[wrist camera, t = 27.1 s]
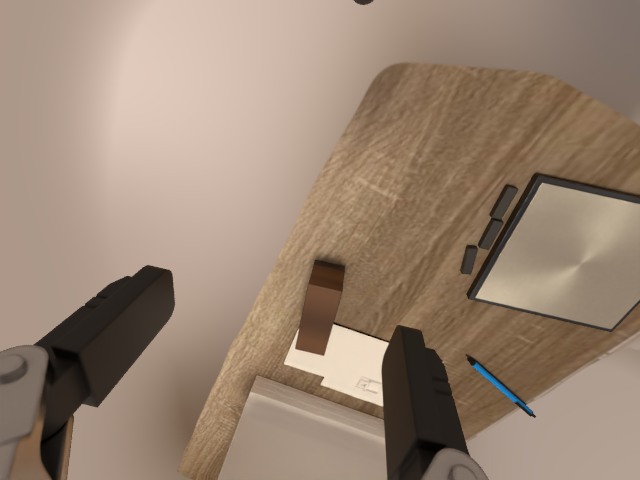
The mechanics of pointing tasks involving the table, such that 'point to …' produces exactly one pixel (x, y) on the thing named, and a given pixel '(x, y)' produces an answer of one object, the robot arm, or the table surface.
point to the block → (303, 439)
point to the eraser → (320, 307)
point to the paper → (346, 363)
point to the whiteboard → (566, 255)
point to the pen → (500, 387)
